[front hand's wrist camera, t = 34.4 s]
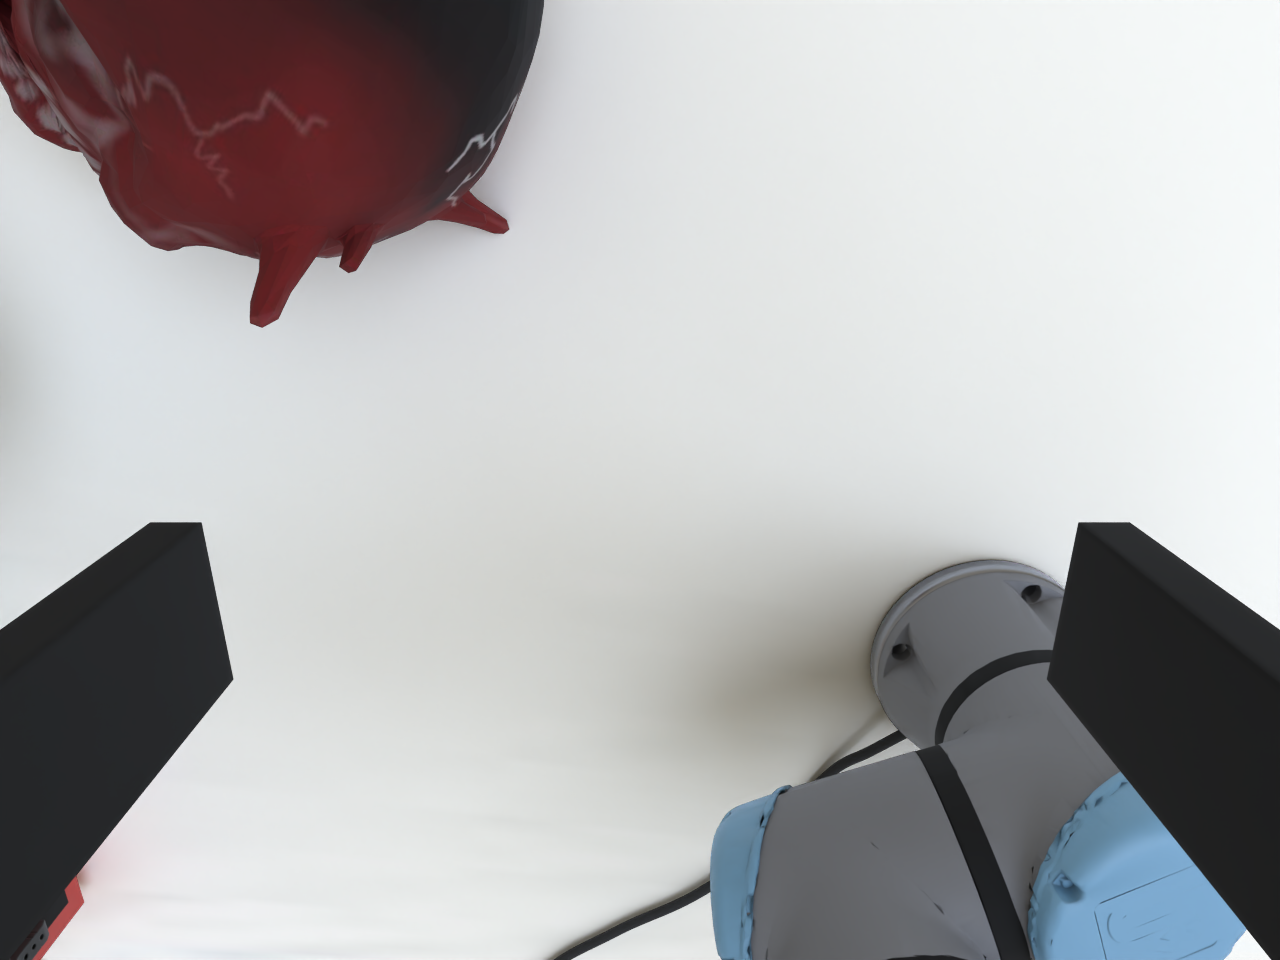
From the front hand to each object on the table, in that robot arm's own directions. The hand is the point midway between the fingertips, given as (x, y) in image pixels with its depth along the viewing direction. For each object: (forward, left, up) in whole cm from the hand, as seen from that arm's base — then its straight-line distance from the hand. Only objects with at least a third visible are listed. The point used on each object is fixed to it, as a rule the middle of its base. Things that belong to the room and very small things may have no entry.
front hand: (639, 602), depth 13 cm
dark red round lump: (-9, +20, -40) cm, 46 cm away
